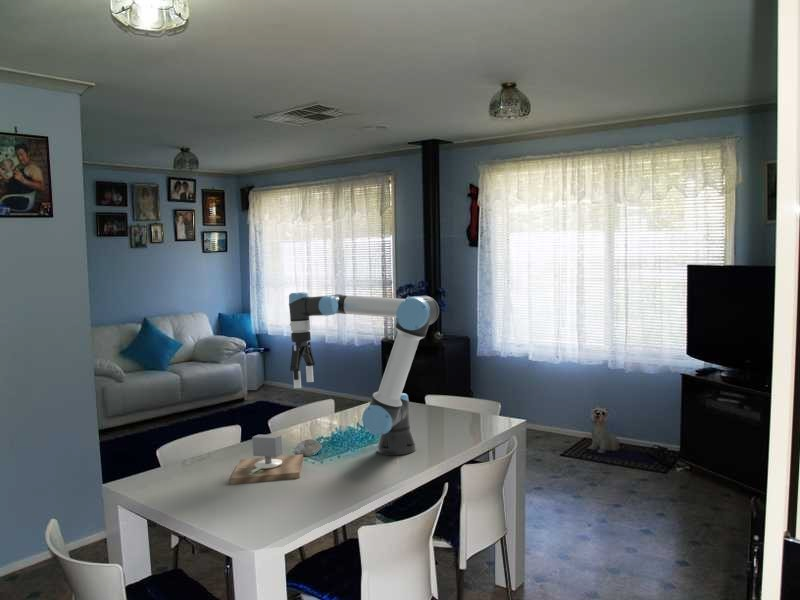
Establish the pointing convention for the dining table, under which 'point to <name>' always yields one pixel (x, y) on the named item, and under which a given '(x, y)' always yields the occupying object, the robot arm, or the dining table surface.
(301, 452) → the fossilized seashell
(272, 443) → the tuning knob
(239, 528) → the dining table surface
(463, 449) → the dining table surface
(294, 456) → the dial board
